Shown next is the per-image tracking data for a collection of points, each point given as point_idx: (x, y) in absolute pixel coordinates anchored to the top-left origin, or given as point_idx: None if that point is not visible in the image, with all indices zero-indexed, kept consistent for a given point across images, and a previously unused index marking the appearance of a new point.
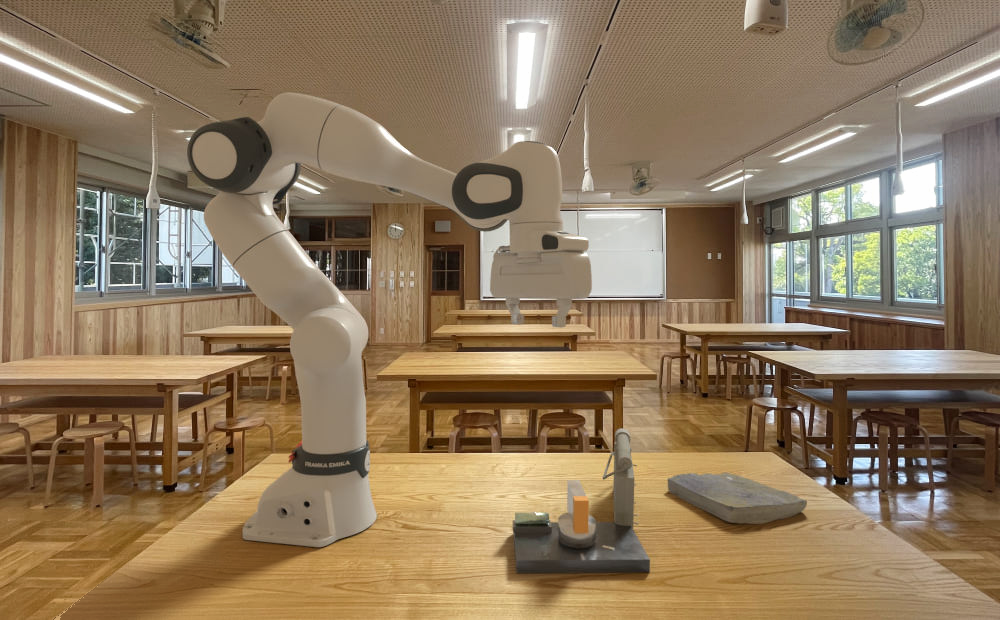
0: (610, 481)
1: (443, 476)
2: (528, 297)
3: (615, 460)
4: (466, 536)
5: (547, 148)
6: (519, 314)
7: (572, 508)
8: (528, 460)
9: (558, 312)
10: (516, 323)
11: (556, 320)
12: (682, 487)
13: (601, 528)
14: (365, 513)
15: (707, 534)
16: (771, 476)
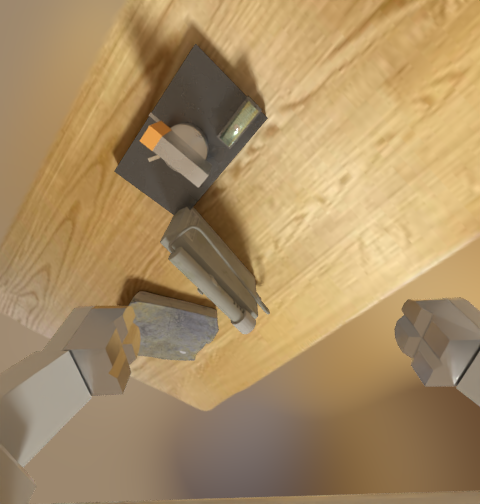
0: (270, 292)
1: (454, 163)
2: (353, 499)
3: (215, 271)
4: (306, 59)
5: None
6: (439, 358)
7: (173, 138)
8: (380, 276)
9: (18, 373)
10: (419, 300)
11: (76, 328)
12: (196, 312)
13: (188, 187)
14: None
15: (139, 263)
16: (176, 380)
